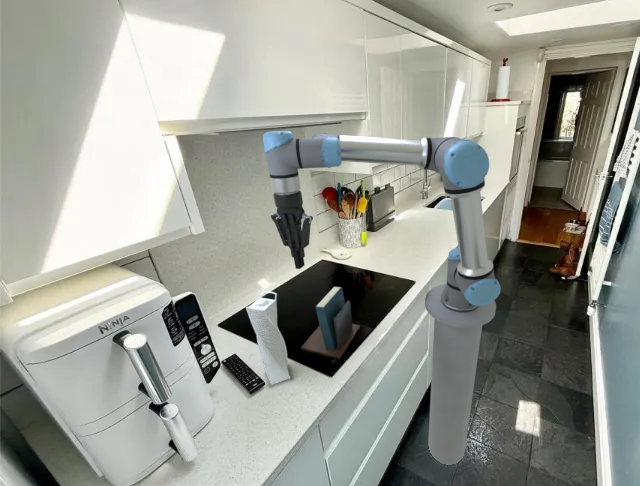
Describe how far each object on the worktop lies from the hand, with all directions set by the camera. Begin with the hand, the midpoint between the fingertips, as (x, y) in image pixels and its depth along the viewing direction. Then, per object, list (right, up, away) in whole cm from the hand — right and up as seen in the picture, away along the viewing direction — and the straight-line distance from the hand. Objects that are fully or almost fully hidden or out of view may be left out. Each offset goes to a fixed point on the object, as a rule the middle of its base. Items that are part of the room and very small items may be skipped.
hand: (300, 266), depth 95 cm
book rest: (+8, -25, +9) cm, 28 cm away
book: (+11, -24, +8) cm, 27 cm away
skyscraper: (-5, -32, -4) cm, 33 cm away
